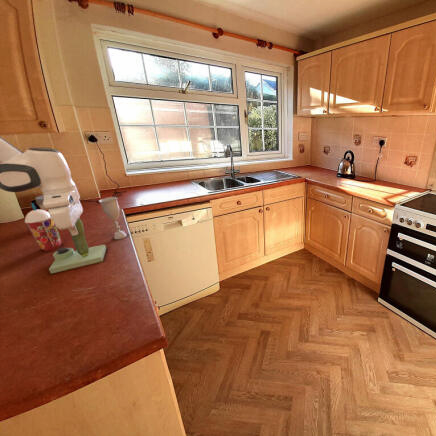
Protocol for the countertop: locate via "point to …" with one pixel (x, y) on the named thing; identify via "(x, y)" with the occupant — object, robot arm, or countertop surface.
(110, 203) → the chalice
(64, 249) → the tare button
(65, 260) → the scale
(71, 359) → the countertop surface
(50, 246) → the smoothie
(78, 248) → the vegetable
